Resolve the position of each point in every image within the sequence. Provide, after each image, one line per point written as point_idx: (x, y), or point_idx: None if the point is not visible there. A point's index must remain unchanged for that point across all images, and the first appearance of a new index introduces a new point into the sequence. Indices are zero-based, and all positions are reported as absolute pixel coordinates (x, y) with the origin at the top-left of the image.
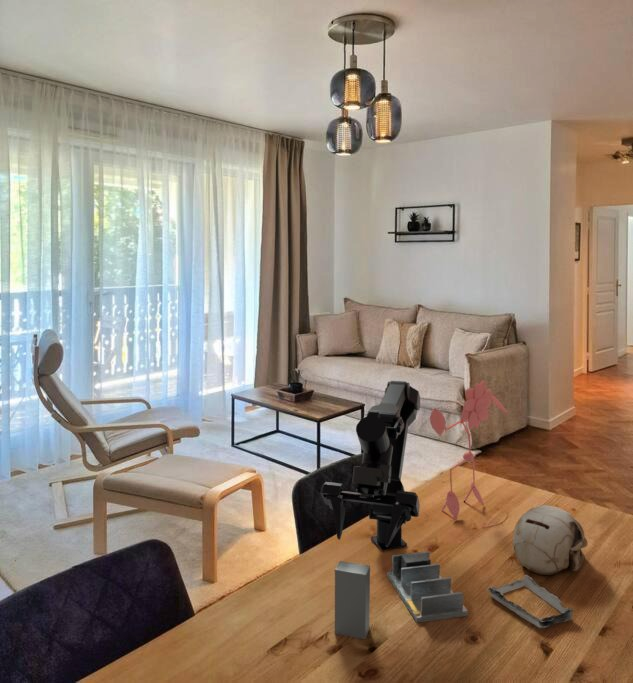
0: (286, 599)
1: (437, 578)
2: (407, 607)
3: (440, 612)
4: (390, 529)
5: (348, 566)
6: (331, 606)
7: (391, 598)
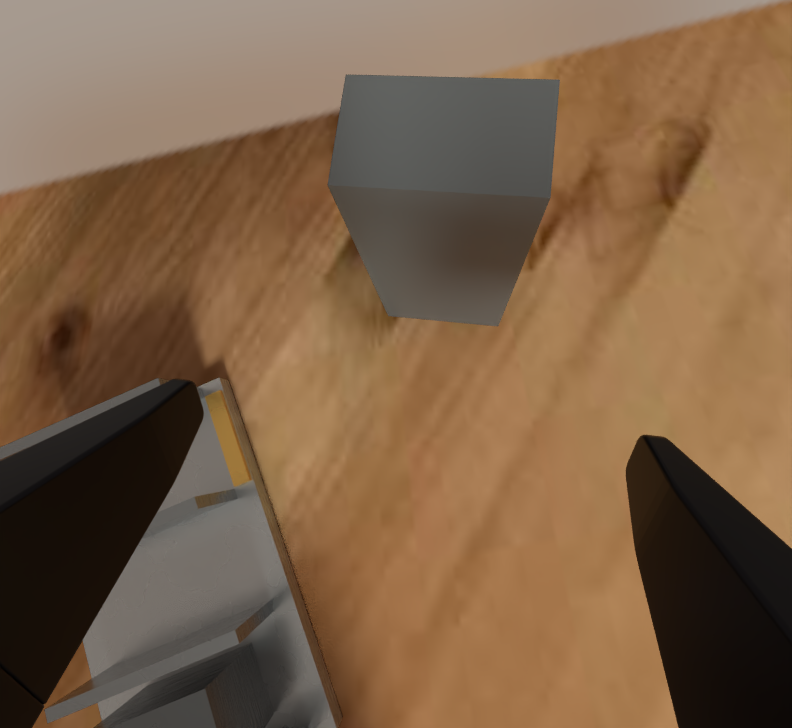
0: (759, 439)
1: (108, 668)
2: (256, 466)
3: None
4: (57, 454)
5: (473, 138)
6: (551, 424)
7: (318, 524)
